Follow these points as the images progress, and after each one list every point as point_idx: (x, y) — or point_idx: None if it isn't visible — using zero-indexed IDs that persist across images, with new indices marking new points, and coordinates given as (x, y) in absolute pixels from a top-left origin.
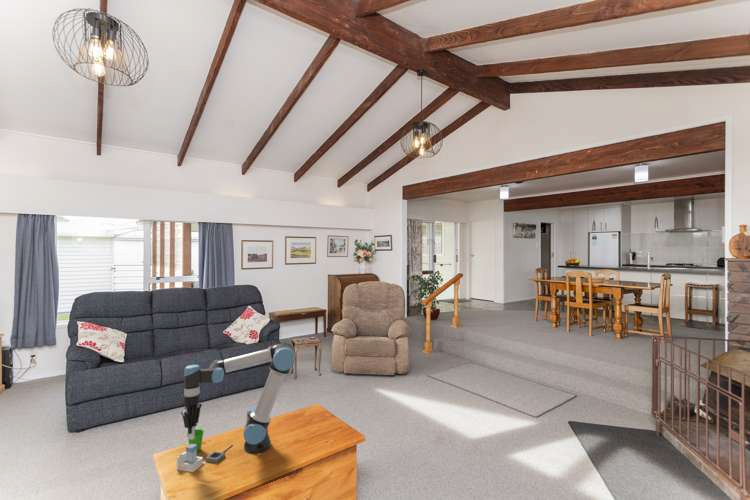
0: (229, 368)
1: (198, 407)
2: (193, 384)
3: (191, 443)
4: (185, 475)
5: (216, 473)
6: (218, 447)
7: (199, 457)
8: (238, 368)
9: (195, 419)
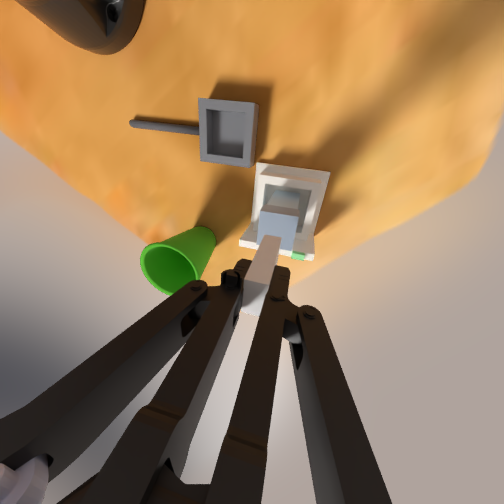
0: None
1: (26, 458)
2: None
3: (206, 259)
4: (344, 191)
5: (333, 47)
6: (160, 177)
7: (261, 189)
8: None
9: (207, 321)
